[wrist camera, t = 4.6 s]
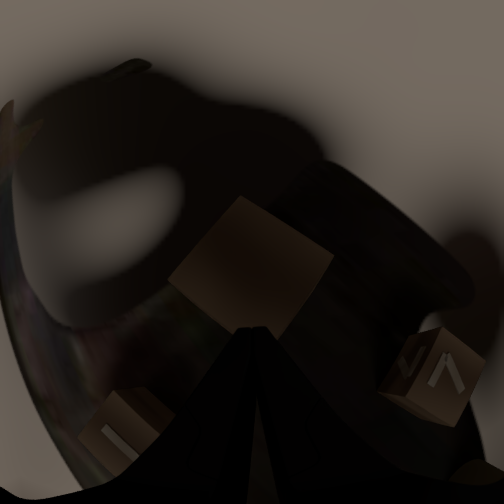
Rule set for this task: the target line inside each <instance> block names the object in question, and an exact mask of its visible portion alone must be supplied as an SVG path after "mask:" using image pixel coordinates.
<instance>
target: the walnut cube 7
mask: <svg viewBox="0 0 504 504" xmlns="http://www.w3.org/2000/svg"><path fill="white" fill-rule="evenodd" d="M485 362H486V361H485V360H484V359H483V358H481V357H480V356H479V355H478V354H477V353H475V352H474V351H473V350H472V349H470V348H469V347H468V346H467V345H465V344H464V343H463V342H462V341H460V340H459V339H458V338H456V337H455V336H454V335H452V334H451V333H450V332H449V331H447V330H446V329H445V328H444V327H439V328H435V329H432V330H428V331H425V332H421V333H417V334H413V335H410V336H408V338H407V340H406V342H405V344H404V346H403V348H402V349H401V351H400V353H399V355H398V357H397V358H396V360H395V362H394V363H393V365H392V367H391V369H390V370H389V372H388V373H387V375H386V377H385V378H384V380H383V382H382V383H381V385H380V386H379V388H378V389H377V392H378V393H380V394H381V395H383V396H384V397H386V398H388V399H389V400H391V401H392V402H394V403H396V404H397V405H399V406H400V407H402V408H404V409H405V410H407V411H408V412H410V413H412V414H413V415H415V416H417V417H418V418H420V419H423V420H427V421H431V422H434V423H438V424H442V425H446V426H450V427H455V425H456V423H457V421H458V419H459V418H460V416H461V414H462V412H463V410H464V408H465V406H466V404H467V402H468V400H469V398H470V396H471V394H472V392H473V390H474V388H475V386H476V384H477V381H478V379H479V377H480V375H481V372H482V370H483V367H484V365H485Z"/></svg>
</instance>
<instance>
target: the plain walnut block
mask: <svg viewBox="0 0 504 504" xmlns="http://www.w3.org/2000/svg"><path fill="white" fill-rule="evenodd" d="M333 257H334V255H333V254H331V253H330V252H328V251H327V250H325V249H324V248H322V247H321V246H319V245H318V244H316V243H315V242H313V241H312V240H310V239H309V238H307V237H306V236H304V235H303V234H301V233H299V232H298V231H296V230H295V229H293V228H292V227H290V226H289V225H287V224H286V223H284V222H282V221H281V220H279V219H278V218H276V217H275V216H273V215H271V214H270V213H268V212H267V211H265V210H263V209H262V208H260V207H259V206H257V205H255V204H254V203H252V202H251V201H249V200H247V199H246V198H244V197H243V196H239V197H238V198H237V200H236V201H235V202H234V203H233V204H232V205H231V207H229V208H228V210H227V211H226V212H225V213H224V214H223V215H222V216H221V218H220V219H219V220H218V221H217V222H216V223H215V224H214V225H213V227H212V228H211V229H210V230H209V231H208V232H207V233H206V235H205V236H204V237H203V238H202V239H201V240H200V241H199V243H198V244H197V245H196V246H195V247H194V249H193V250H192V251H191V252H190V253H189V254H188V255H187V257H186V258H185V259H184V260H183V261H182V263H181V264H180V265H179V266H178V267H177V269H176V270H175V271H174V272H173V273H172V275H171V276H170V277H169V278H168V281H169V282H170V283H171V284H172V285H174V286H175V287H176V288H177V289H178V290H179V291H180V292H181V293H182V294H184V295H185V296H186V297H187V298H188V299H189V300H190V301H191V302H193V303H194V304H195V305H196V306H197V307H198V308H199V309H201V310H202V311H203V312H204V313H206V314H207V315H208V316H209V317H211V318H212V319H213V320H215V321H216V322H217V323H218V324H220V325H221V326H222V327H224V328H225V329H226V330H227V331H229V332H230V333H231V334H234V332H235V331H236V329H237V328H241V327H251V328H253V327H256V326H266V327H267V328H268V329H269V330H270V332H271V333H272V334H273V336H274V337H275V338H276V339H277V340H278V339H279V337H280V336H281V335H282V333H283V332H284V331H285V329H286V328H287V327H288V325H289V324H290V322H291V321H292V320H293V318H294V317H295V316H296V314H297V313H298V311H299V310H300V309H301V307H302V306H303V304H304V303H305V302H306V300H307V299H308V297H309V296H310V294H311V293H312V291H313V290H314V288H315V287H316V285H317V283H318V282H319V280H320V279H321V277H322V275H323V274H324V272H325V270H326V269H327V267H328V266H329V264H330V262H331V261H332V259H333Z"/></svg>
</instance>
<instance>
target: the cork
mask: <svg viewBox="0 0 504 504" xmlns="http://www.w3.org/2000/svg"><path fill="white" fill-rule="evenodd" d="M502 478H504V471H502V470H500V469H498V468H496V467H494V466H493V465H491V464H489V463H487V462H485V461H484V460H481V459H474V460H471V461H469V462H467V463H465V464H464V465H463V466H461V467H460V468H459V469H458V470H457V471H456V472H455V473H454V474H453V475H452V476H451V477H450V479H449V480H448V481H450V482H456V483H462V484H468V485H488V484H491V483H495V482H497V481H499V480H501V479H502Z"/></svg>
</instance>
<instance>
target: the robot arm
mask: <svg viewBox="0 0 504 504" xmlns="http://www.w3.org/2000/svg"><path fill="white" fill-rule="evenodd" d="M256 391H257V399H258V405H259V410H260V415H261V420H262V424H263V429H264V434H265V439H266V443H267V448H268V453H269V457H270V462H271V467H272V471H273V476H274V480H275V485H276V489H277V494H278V498H279V502H280V504H504V478H502V479H501V480H499V481H497V482H495V483H491V484H488V485H468V484H462V483H456V482H450V481H445V480H440V479H436V478H431V477H427V476H423V475H419V474H415V473H411V472H408V471H405V470H403V469H401V468H399V467H397V466H395V465H394V464H392V463H391V462H390V461H388V460H387V459H386V458H385V457H383V456H382V455H381V454H380V453H379V452H377V451H376V450H375V449H374V448H373V447H372V446H370V445H369V444H368V443H367V442H366V441H365V440H363V439H362V438H361V437H360V436H359V435H358V434H357V433H355V432H354V431H353V430H352V429H351V428H350V427H349V426H348V425H347V424H346V423H345V422H344V421H343V420H342V419H341V418H340V417H339V416H338V415H337V414H336V413H335V412H334V410H333V409H332V408H331V407H330V406H329V405H328V403H327V402H326V401H325V400H324V398H321V395H320V394H319V393H318V391H317V390H316V389H315V388H314V386H313V385H312V384H311V383H310V381H309V380H308V379H307V378H306V376H305V375H304V374H303V373H302V371H301V370H300V369H299V368H298V366H297V365H296V364H295V362H294V361H293V360H292V359H291V357H290V356H289V355H288V354H287V352H286V351H285V350H284V348H283V347H282V346H281V345H280V343H279V342H278V341H277V339H276V338H275V337H274V336H273V334H272V333H271V332H270V330H269V329H268V328H267V327H266V326H256V327H253V328H251V327H241V328H237V329H236V331H235V332H234V334H233V335H232V337H231V338H230V340H229V341H228V343H227V344H226V346H225V347H224V348H223V350H222V351H221V353H220V354H219V356H218V357H217V359H216V360H215V361H214V363H213V364H212V366H211V367H210V369H209V370H208V371H207V373H206V374H205V376H204V377H203V379H202V380H201V381H200V383H199V384H198V386H197V387H196V388H195V390H194V391H193V393H192V394H191V395H190V397H189V398H188V400H187V401H186V402H185V406H182V408H181V409H180V411H179V412H178V413H177V415H176V416H175V417H174V419H173V420H172V421H171V422H170V424H169V425H168V426H167V427H166V429H165V430H164V431H163V432H162V433H161V434H160V435H159V436H158V437H157V438H156V440H155V441H154V442H153V443H152V444H151V445H150V446H149V447H148V448H147V449H146V450H145V451H144V452H143V453H142V454H141V455H140V456H139V457H138V458H137V459H136V460H135V461H134V462H133V463H132V464H131V465H130V466H129V467H128V468H127V469H126V470H124V471H123V472H122V473H121V474H120V475H118V476H117V477H116V478H114V479H113V480H111V481H109V482H107V483H105V484H102V485H99V486H96V487H92V488H89V489H85V490H81V491H77V492H73V493H69V494H65V495H61V496H56V497H51V498H46V499H38V500H28V499H23V498H19V497H17V496H15V495H13V494H11V493H10V492H8V491H7V490H5V489H3V488H2V487H0V504H246V502H247V492H248V483H249V473H250V463H251V453H252V442H253V432H254V421H255V410H256Z"/></svg>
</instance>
